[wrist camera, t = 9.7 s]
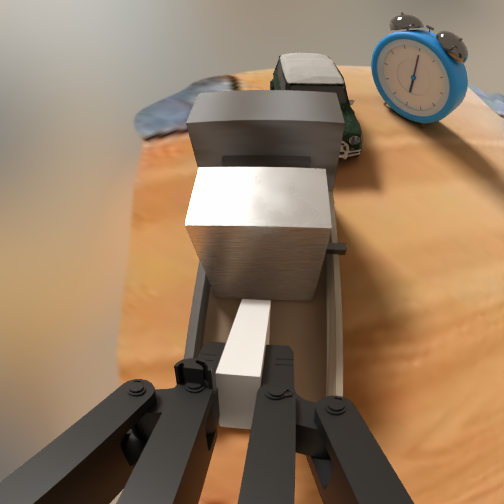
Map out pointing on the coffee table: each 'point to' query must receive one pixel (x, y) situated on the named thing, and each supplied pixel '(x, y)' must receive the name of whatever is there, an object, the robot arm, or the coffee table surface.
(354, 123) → the miniature car
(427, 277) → the coffee table surface
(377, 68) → the alarm clock
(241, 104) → the frame
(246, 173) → the carriage
